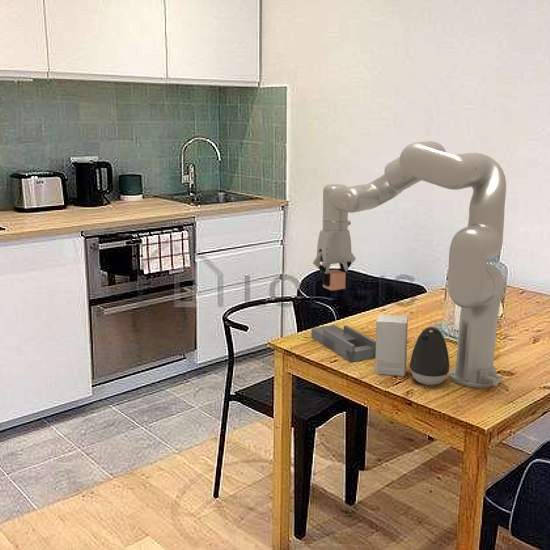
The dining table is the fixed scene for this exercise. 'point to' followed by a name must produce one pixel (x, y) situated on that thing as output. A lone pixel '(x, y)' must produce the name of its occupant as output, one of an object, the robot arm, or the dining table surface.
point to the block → (336, 280)
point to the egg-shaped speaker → (430, 357)
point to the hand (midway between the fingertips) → (334, 283)
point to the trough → (345, 342)
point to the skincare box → (391, 344)
